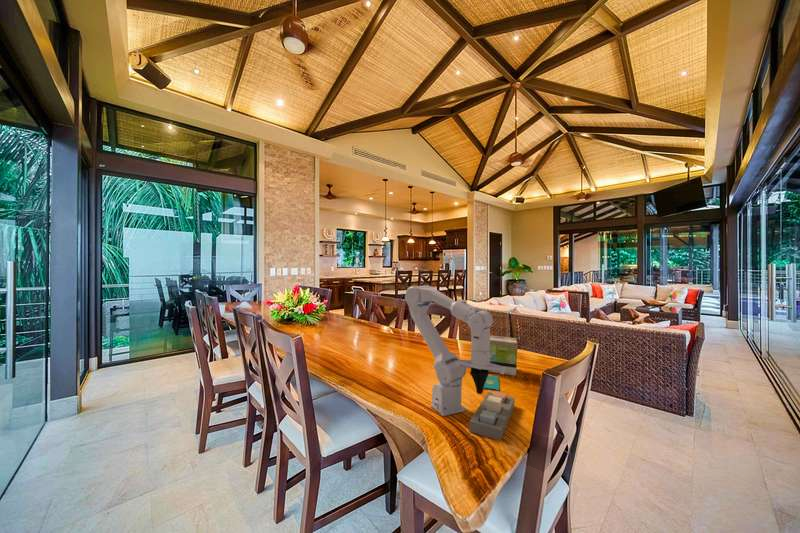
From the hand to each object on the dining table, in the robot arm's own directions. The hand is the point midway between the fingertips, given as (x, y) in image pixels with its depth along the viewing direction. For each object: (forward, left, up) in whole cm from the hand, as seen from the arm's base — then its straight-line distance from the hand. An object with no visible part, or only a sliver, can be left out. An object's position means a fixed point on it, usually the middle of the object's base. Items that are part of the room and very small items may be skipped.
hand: (480, 392), depth 101 cm
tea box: (+38, +32, -9) cm, 50 cm away
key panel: (+5, -1, -9) cm, 10 cm away
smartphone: (+24, +22, -9) cm, 34 cm away
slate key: (-2, -6, -8) cm, 10 cm away
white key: (+5, -1, -7) cm, 9 cm away
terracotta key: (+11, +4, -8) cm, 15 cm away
